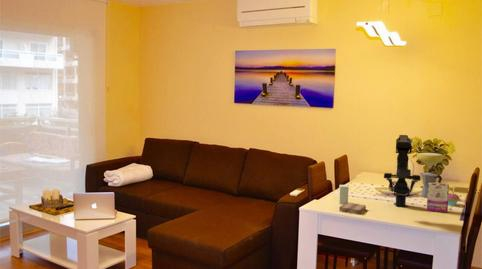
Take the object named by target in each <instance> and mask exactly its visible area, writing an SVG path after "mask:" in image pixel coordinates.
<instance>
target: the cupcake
mask: <svg viewBox="0 0 482 269" xmlns="http://www.w3.org/2000/svg"><path fill="white" fill-rule="evenodd" d="M455 189H456V188H455V186H453V188H452V192H451V193H449V192H448V206H450V205H451V207H454V206H456V205H457V203H458V202H459V200H460V196H459V195H458V194H456V193H455Z"/></svg>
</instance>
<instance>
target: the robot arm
mask: <svg viewBox="0 0 482 269" xmlns="http://www.w3.org/2000/svg"><path fill="white" fill-rule="evenodd" d="M412 152H413V145H412V140H411V139H410V137H409V135H407V134H400V135H399V136H398V138H396V139H395V154H397V156H396V157H397V158H396V174H393V173H392V172H384V174H383V179H386V181H388V183H389V186H390V189H391V192H392V193H393V196H395V202H394V203H393V205H394V206H395V207H398V208H399V207H401V208H402V207H404V208H408V205H407V202H406V201H407V200H406V199H407V198H408V197H410V196H411V195H410V194H411V193H412V190H413V188H414V186H415V185H416V183H418V182H419V181H420V182H421V175H420V174H411V173H412V172H411V171H412V170H411V169H409V155H411V154H412ZM394 178H395V179H397V180H396V182H395V183H394V184H395V185H394V186H393V179H394ZM406 179H407V180H411V182H410V186H408V185H409V184H408V182H407V180H406Z"/></svg>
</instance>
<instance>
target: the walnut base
mask: <svg viewBox="0 0 482 269" xmlns="http://www.w3.org/2000/svg"><path fill="white" fill-rule="evenodd" d="M366 209H367V205H365V204H359V203H351V202H348V203H345V204H341V205H340V206H339V212H341V211H342V212H341V213H343V212H344V213H347V212H349V213H348V214H354V215H361V214H362V213H363V212H365V211H366Z"/></svg>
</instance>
